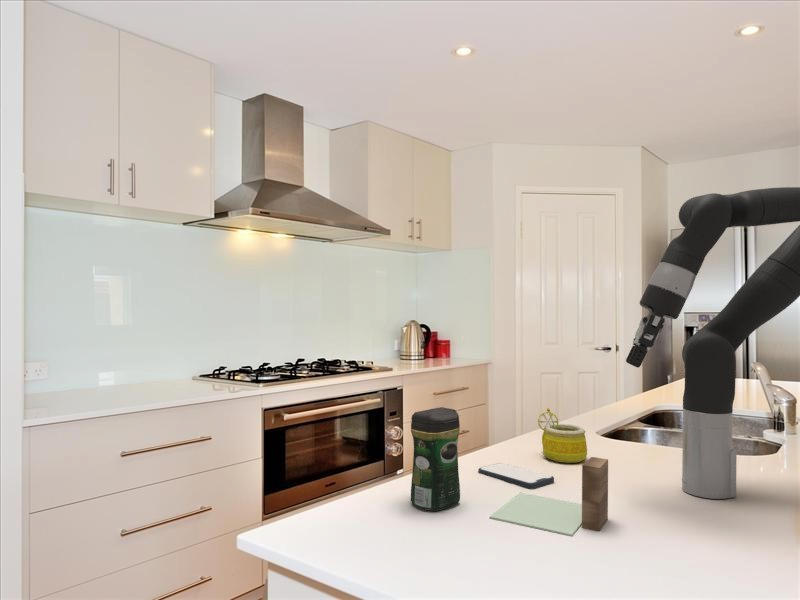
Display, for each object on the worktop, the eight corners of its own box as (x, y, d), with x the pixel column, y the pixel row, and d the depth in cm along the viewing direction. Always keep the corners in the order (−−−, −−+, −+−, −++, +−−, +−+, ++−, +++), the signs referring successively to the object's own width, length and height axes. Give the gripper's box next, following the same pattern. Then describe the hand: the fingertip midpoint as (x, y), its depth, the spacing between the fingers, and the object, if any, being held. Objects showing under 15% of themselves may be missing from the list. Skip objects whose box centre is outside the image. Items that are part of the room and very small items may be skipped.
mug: (596, 461, 146) (597, 412, 146) (567, 467, 139) (568, 417, 139) (556, 449, 156) (556, 405, 156) (527, 455, 150) (528, 409, 150)
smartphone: (475, 475, 135) (531, 491, 122) (475, 468, 135) (531, 484, 123) (501, 468, 140) (556, 483, 128) (501, 461, 141) (556, 476, 128)
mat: (594, 508, 112) (595, 506, 112) (572, 536, 98) (572, 534, 98) (520, 493, 120) (520, 492, 120) (489, 518, 106) (489, 516, 106)
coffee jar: (436, 493, 120) (437, 403, 120) (466, 503, 114) (467, 408, 114) (402, 504, 113) (403, 408, 113) (432, 515, 107) (433, 414, 107)
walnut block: (607, 519, 106) (608, 459, 106) (599, 531, 101) (599, 467, 101) (590, 516, 108) (591, 456, 108) (581, 527, 102) (582, 465, 102)
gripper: (693, 295, 106) (654, 375, 108) (681, 300, 120) (647, 371, 121) (652, 279, 109) (614, 357, 110) (645, 285, 122) (612, 355, 123)
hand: (631, 364), depth 115 cm, fingers open, 8 cm apart
